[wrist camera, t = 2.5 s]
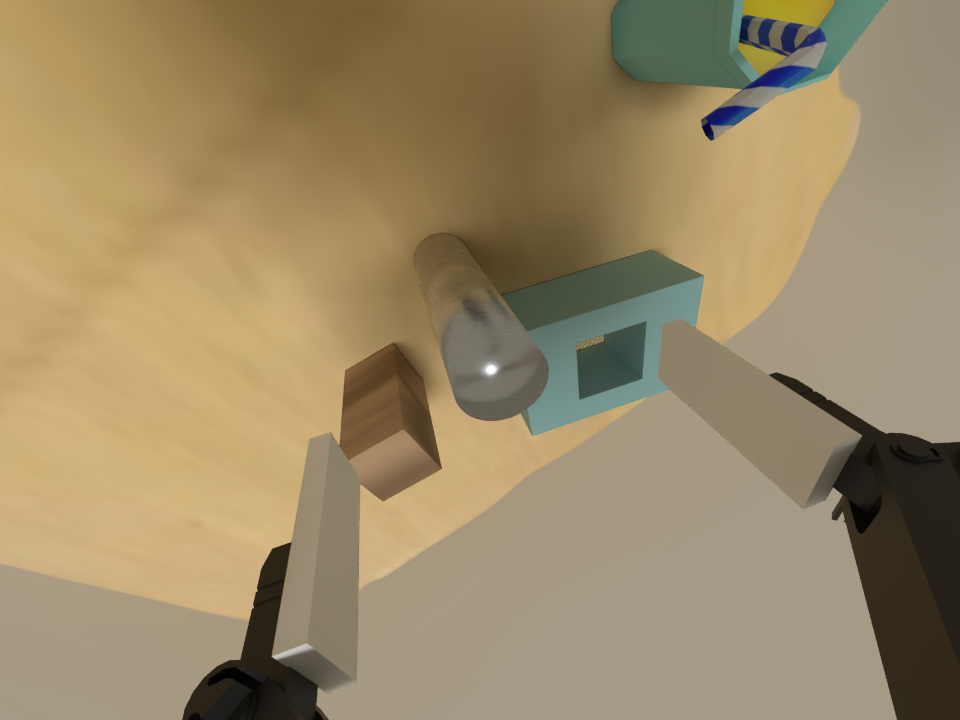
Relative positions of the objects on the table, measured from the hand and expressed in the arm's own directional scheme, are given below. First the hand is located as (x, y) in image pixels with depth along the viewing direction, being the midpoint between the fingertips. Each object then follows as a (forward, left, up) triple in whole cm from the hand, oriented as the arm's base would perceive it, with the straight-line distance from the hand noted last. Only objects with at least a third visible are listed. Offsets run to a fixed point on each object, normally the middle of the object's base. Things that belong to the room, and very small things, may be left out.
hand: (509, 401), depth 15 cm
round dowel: (0, 0, -16) cm, 16 cm away
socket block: (+9, +10, -16) cm, 21 cm away
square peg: (+8, -7, -16) cm, 19 cm away
